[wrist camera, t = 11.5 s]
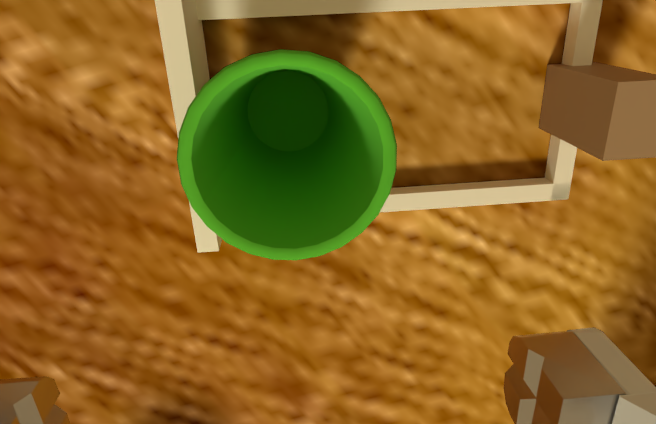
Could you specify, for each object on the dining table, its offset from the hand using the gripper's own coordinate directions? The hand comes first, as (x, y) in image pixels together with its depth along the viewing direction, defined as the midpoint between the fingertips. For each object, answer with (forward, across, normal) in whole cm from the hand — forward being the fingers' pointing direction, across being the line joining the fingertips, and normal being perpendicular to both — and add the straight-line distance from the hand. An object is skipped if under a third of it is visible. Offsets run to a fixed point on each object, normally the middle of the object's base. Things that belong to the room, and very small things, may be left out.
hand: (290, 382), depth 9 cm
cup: (+23, 0, 0) cm, 23 cm away
